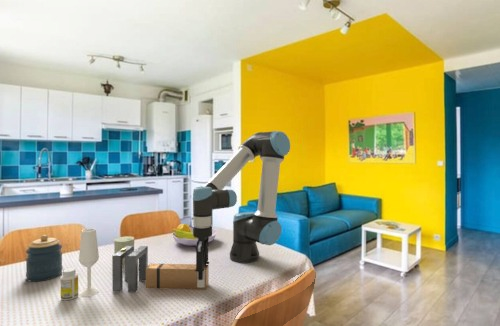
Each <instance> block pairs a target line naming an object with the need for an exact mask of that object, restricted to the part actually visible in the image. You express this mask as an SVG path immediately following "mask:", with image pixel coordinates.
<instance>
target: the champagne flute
mask: <svg viewBox="0 0 500 326" xmlns="http://www.w3.org/2000/svg"><path fill="white" fill-rule="evenodd" d="M80 233H81V234H80V243H79V252H78V262H79V263H80V265H81V266H83V267H85V268H87V269H86V273H87V274H86V275H87V278H86V280H87V283H86V284H87V285H86V288H85V289H83V290H82V291H80V292H78V296H80V297H83V298H84V297H85V298H86V297H92V296H95V295H96V294H98V293H99V292H100V289H99V288H96V287H92V267H93V266H94V265H95V264H96V263H97V262H98V261H99V258H100V254H99V245H98V237H97V230H96V228H84V229H82V230H81V232H80Z"/></svg>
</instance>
